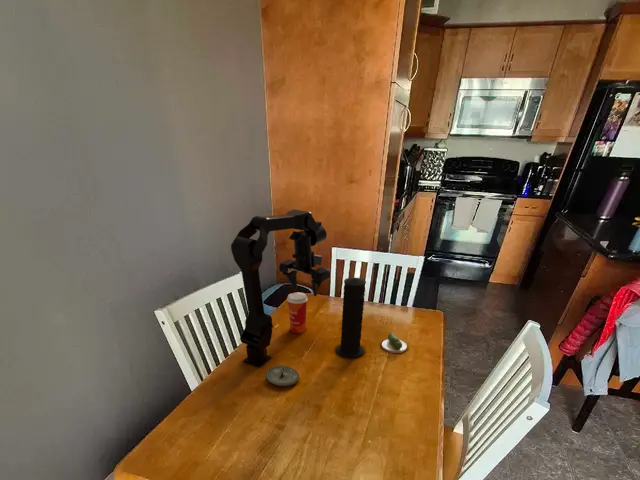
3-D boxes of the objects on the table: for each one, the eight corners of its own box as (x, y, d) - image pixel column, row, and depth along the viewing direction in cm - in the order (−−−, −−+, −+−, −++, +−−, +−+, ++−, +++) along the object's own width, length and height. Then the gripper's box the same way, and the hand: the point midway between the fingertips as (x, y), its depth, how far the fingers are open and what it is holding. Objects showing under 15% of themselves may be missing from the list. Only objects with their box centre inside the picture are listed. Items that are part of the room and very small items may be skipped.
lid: (264, 378, 118) (259, 367, 114) (291, 364, 120) (287, 353, 116) (276, 397, 110) (272, 386, 107) (305, 382, 113) (301, 371, 109)
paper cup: (285, 327, 143) (283, 293, 135) (303, 323, 146) (302, 290, 137) (292, 336, 137) (291, 301, 129) (311, 332, 140) (311, 298, 132)
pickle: (410, 351, 129) (412, 342, 127) (386, 354, 128) (387, 345, 126) (401, 339, 136) (402, 330, 134) (378, 341, 135) (379, 332, 133)
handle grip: (364, 359, 125) (364, 344, 133) (371, 285, 109) (371, 273, 118) (335, 357, 126) (336, 342, 134) (338, 283, 110) (340, 271, 118)
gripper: (339, 247, 124) (338, 290, 134) (295, 238, 133) (298, 279, 143) (320, 258, 117) (321, 302, 127) (275, 248, 126) (280, 290, 136)
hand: (305, 292), depth 133 cm, fingers open, 9 cm apart
